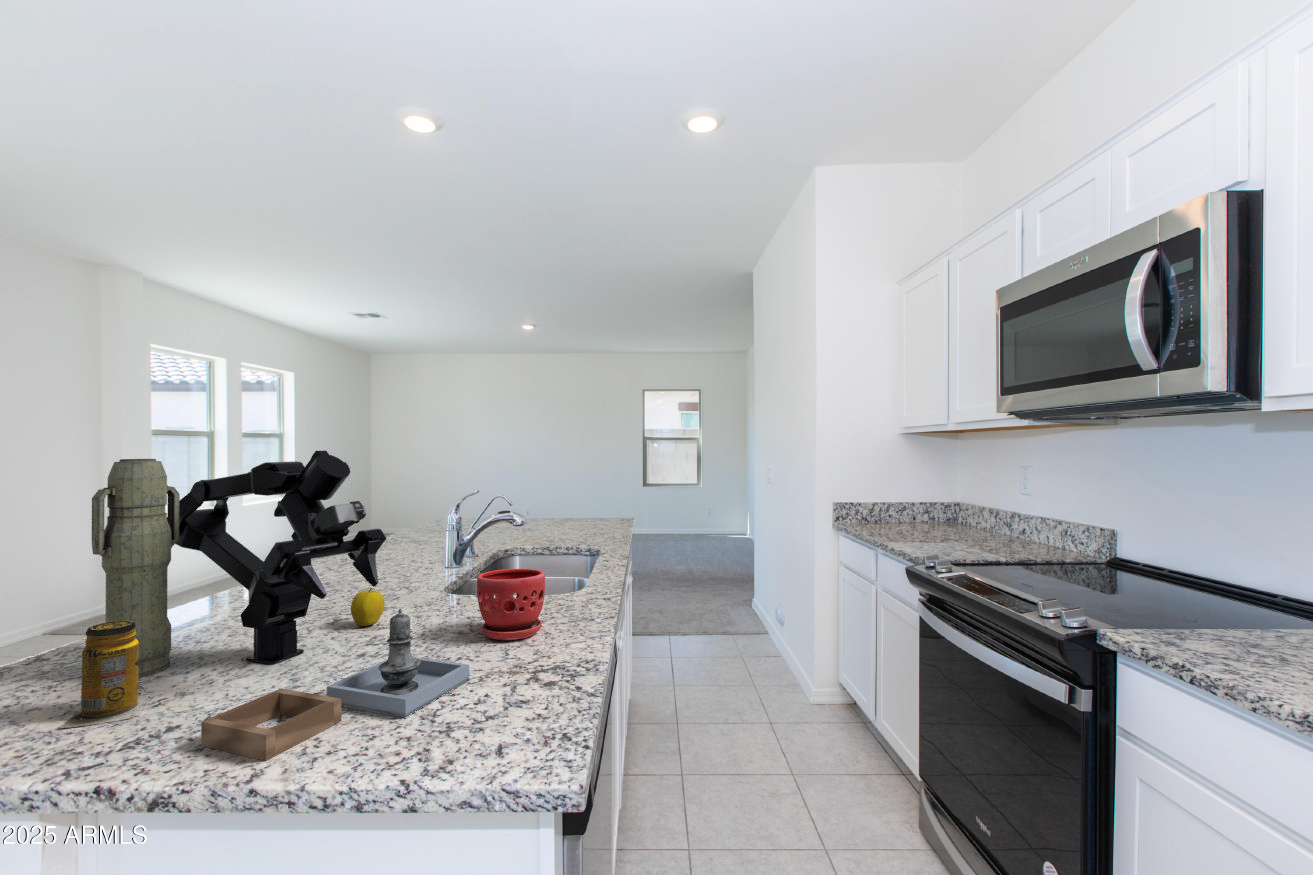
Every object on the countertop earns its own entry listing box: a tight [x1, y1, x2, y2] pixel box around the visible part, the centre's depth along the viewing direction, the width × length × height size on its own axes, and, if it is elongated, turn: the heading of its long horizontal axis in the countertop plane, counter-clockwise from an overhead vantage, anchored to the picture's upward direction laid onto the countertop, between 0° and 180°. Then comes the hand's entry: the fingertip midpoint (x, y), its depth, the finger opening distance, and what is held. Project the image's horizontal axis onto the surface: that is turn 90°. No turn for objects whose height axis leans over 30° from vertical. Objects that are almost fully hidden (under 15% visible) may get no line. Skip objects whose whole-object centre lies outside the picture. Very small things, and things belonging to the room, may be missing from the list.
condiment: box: [59, 620, 150, 729], centre depth 85 cm, size 7×8×12 cm
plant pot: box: [476, 568, 546, 641], centre depth 121 cm, size 13×13×12 cm
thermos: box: [91, 458, 181, 678], centre depth 102 cm, size 9×12×35 cm
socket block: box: [200, 688, 342, 762], centre depth 79 cm, size 11×11×3 cm
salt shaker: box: [379, 608, 421, 695], centre depth 92 cm, size 6×6×12 cm
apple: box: [350, 587, 386, 627], centre depth 126 cm, size 6×6×8 cm
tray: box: [326, 656, 470, 718], centre depth 92 cm, size 14×14×2 cm
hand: (351, 590), depth 99 cm, fingers open, 9 cm apart
